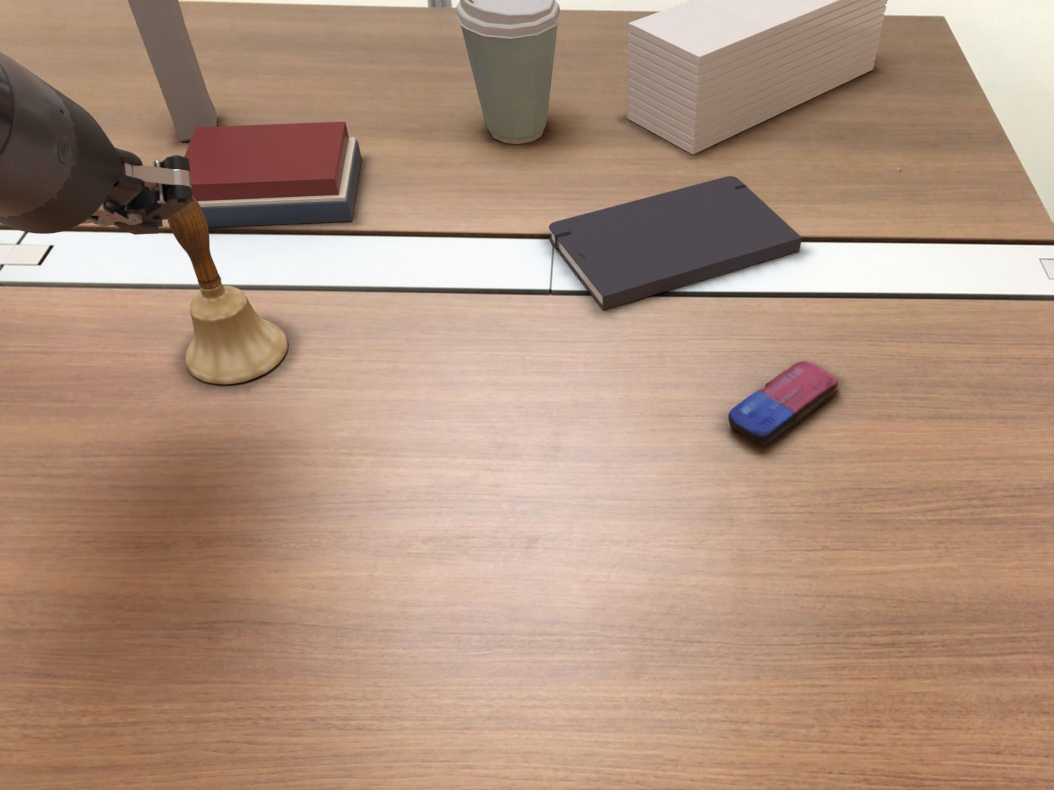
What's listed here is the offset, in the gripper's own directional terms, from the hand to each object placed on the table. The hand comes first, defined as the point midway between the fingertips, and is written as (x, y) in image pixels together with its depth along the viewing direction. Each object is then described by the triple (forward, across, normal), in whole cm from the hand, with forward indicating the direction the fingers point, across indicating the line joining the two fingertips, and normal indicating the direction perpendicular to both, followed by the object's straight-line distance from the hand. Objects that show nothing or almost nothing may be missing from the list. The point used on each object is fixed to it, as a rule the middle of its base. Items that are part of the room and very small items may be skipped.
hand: (146, 219), depth 63 cm
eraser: (+8, -45, +16) cm, 48 cm away
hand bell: (+16, 0, +8) cm, 18 cm away
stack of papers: (+46, -54, -22) cm, 74 cm away
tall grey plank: (+43, +10, -20) cm, 49 cm away
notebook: (+25, -39, -1) cm, 46 cm away
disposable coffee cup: (+41, -25, -18) cm, 51 cm away
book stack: (+34, 0, -10) cm, 35 cm away
